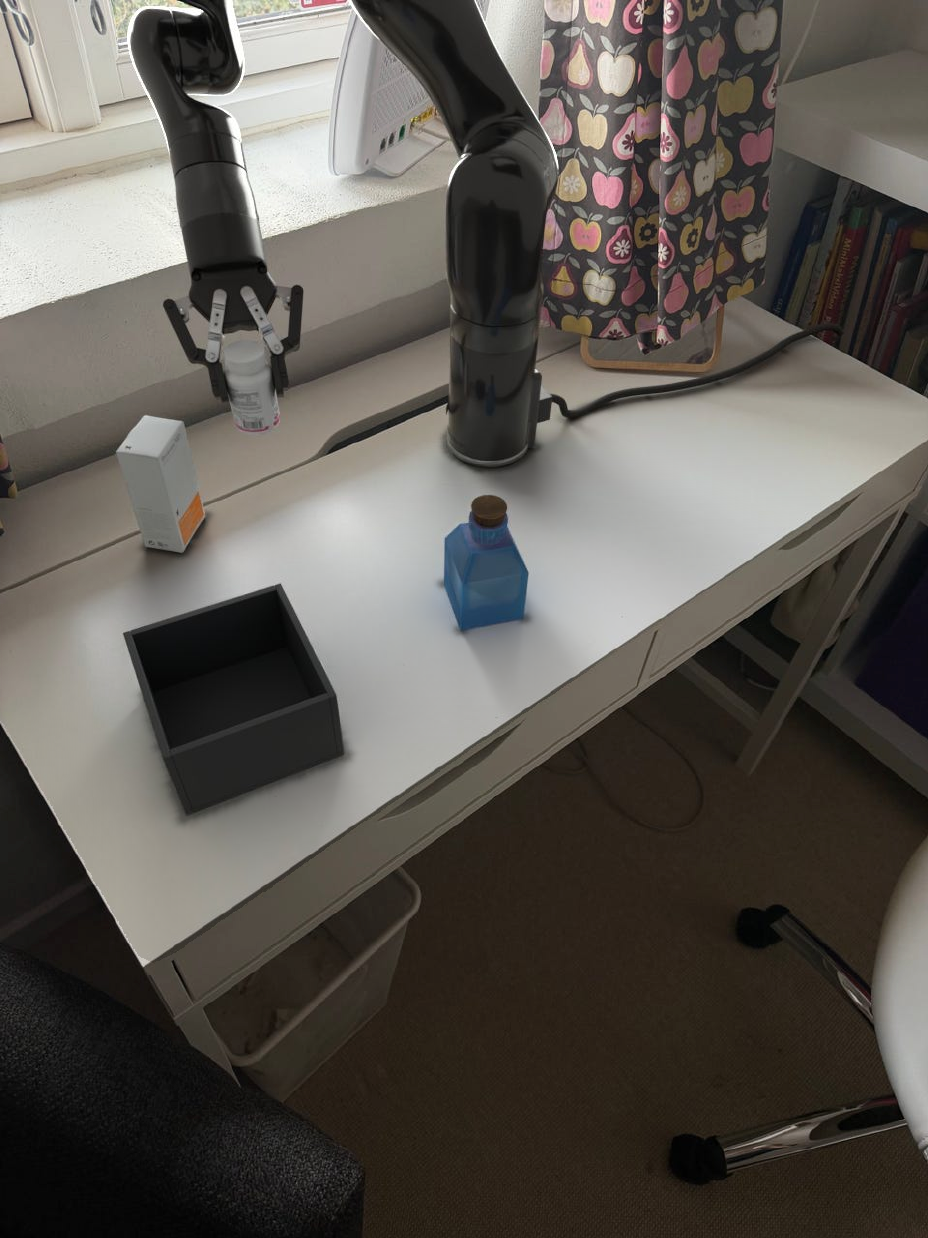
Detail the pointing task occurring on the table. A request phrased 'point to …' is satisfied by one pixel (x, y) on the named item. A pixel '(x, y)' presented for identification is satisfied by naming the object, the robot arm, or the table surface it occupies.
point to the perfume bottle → (484, 567)
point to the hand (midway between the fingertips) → (253, 398)
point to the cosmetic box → (162, 483)
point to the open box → (235, 696)
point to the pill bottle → (251, 388)
